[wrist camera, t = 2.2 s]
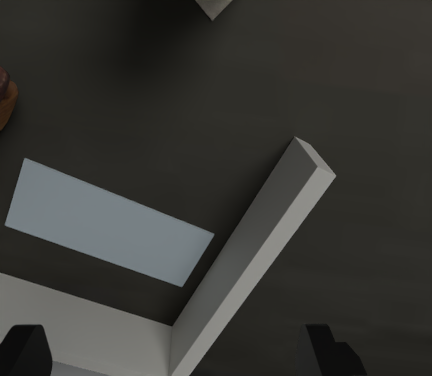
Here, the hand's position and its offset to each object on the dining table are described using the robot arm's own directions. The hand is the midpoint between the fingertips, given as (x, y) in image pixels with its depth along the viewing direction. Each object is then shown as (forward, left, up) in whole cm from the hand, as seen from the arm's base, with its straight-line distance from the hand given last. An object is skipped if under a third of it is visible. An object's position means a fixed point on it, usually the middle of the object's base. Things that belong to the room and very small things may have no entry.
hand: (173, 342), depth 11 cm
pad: (-2, -11, -19) cm, 22 cm away
